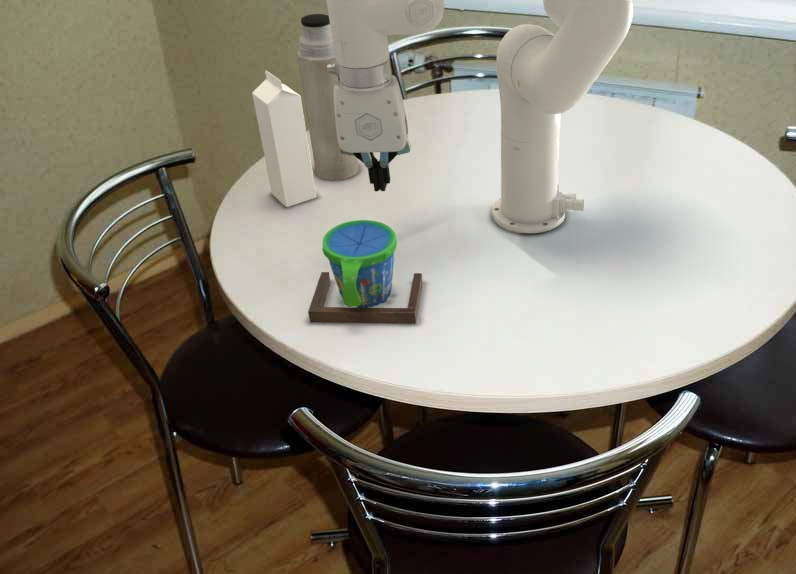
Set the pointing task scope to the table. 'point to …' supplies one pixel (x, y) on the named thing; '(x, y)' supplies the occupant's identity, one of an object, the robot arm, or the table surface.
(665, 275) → the table surface
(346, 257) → the snack cup
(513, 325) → the table surface
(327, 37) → the thermos bottle
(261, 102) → the milk
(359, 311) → the bay
